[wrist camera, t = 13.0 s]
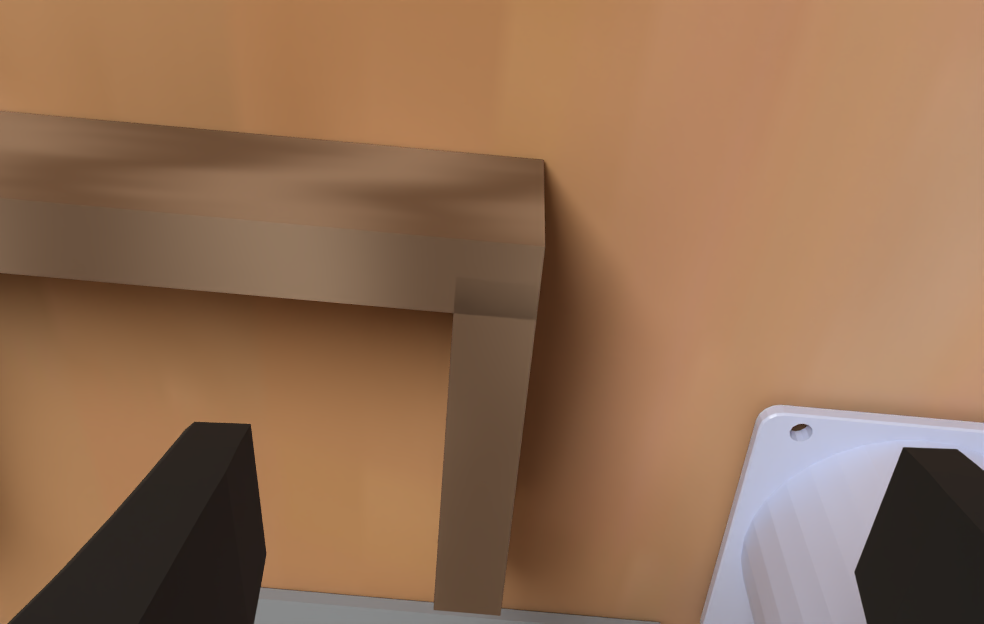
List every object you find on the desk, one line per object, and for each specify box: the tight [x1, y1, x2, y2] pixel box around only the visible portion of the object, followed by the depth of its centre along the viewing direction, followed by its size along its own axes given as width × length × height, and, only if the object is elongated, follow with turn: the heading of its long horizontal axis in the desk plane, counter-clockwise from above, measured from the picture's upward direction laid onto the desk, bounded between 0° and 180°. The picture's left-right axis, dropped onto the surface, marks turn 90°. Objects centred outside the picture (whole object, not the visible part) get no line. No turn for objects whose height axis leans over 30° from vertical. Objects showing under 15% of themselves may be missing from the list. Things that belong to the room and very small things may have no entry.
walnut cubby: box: [0, 111, 545, 616], centre depth 20 cm, size 16×9×4 cm, turn 85°
